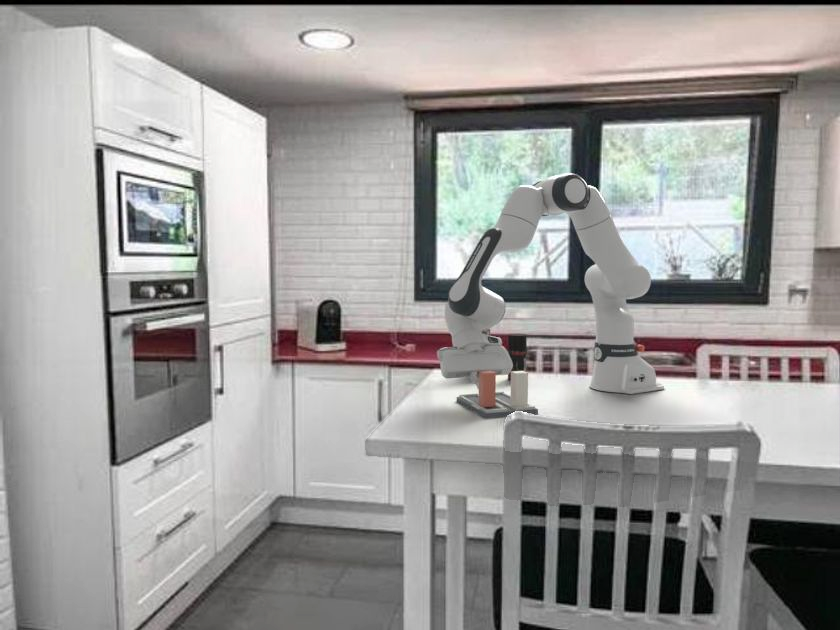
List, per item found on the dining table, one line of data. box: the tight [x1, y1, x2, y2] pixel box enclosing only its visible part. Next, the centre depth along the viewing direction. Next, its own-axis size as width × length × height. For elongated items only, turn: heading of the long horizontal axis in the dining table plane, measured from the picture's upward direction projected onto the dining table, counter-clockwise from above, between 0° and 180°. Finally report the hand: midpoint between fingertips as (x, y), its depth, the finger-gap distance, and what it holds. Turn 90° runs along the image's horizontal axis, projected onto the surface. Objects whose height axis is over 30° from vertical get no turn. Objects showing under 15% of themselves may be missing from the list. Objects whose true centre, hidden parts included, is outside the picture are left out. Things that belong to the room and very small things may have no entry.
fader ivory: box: [510, 371, 529, 407], centre depth 169 cm, size 4×3×9 cm
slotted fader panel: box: [456, 391, 539, 419], centre depth 174 cm, size 15×20×2 cm
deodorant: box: [507, 333, 528, 381], centre depth 212 cm, size 6×6×15 cm
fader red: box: [478, 371, 497, 407], centre depth 169 cm, size 4×3×9 cm
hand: (483, 387), depth 171 cm, fingers closed, pressing on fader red
